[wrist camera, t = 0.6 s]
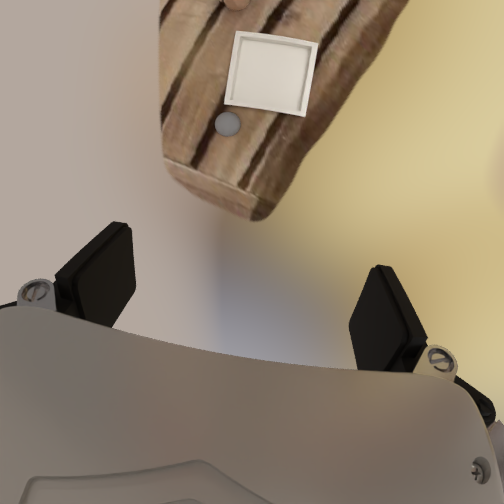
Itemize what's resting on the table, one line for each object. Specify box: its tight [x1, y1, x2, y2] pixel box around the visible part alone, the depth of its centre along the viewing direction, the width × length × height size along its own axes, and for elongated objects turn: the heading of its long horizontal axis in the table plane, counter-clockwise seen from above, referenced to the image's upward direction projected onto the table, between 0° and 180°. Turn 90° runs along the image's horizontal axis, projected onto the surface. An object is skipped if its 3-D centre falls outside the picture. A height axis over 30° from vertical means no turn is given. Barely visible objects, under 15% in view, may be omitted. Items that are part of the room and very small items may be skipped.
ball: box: [215, 112, 241, 136], centre depth 32 cm, size 3×3×3 cm
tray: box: [224, 31, 318, 117], centre depth 29 cm, size 9×9×2 cm
